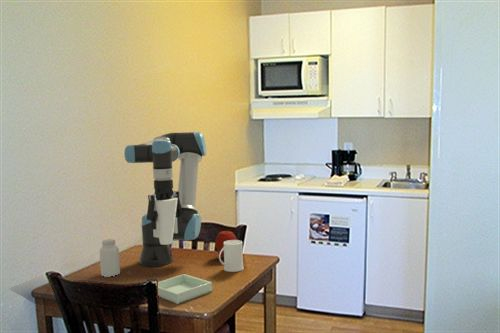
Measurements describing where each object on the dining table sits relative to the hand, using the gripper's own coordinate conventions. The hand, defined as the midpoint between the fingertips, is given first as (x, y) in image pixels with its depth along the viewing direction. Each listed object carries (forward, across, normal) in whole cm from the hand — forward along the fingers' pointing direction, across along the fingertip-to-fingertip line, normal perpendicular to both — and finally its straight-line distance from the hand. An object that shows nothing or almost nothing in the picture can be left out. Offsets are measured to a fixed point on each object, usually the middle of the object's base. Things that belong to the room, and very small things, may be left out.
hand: (165, 234), depth 204 cm
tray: (+20, -4, -14) cm, 25 cm away
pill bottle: (+20, -10, +28) cm, 35 cm away
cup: (+4, 0, 0) cm, 4 cm away
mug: (+20, +28, -8) cm, 35 cm away
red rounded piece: (+19, +39, +7) cm, 44 cm away
